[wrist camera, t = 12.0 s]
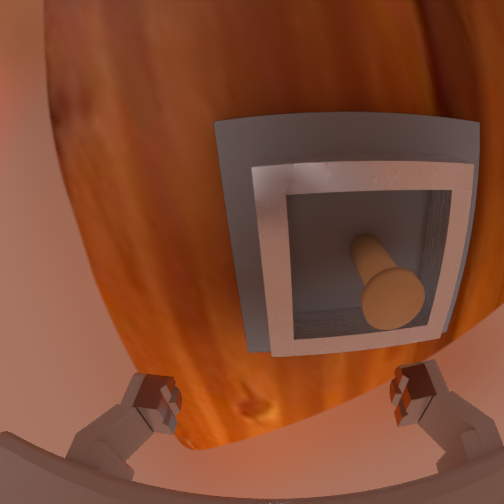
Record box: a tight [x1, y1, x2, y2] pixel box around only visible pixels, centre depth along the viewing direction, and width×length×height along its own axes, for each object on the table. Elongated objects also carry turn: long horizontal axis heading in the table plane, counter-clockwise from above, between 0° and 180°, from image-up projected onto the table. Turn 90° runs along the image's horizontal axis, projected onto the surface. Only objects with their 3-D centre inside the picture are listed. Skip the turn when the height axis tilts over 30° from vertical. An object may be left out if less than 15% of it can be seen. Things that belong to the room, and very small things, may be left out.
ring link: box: [251, 153, 474, 357], centre depth 18 cm, size 13×13×3 cm
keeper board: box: [214, 112, 480, 352], centre depth 17 cm, size 18×18×8 cm
